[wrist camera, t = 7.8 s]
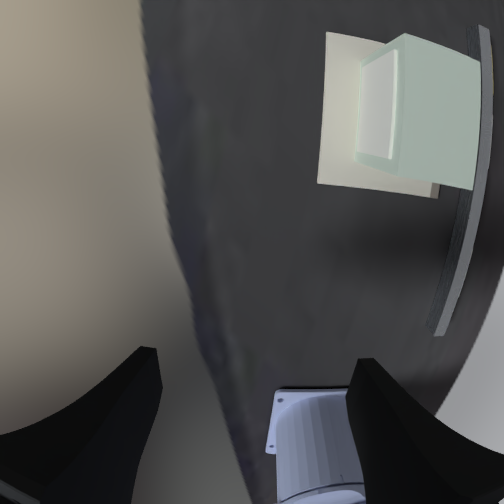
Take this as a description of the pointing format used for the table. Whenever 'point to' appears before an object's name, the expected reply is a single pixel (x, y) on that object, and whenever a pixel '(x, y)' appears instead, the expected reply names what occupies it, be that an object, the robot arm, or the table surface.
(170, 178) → the table surface
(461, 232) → the rail
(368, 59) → the sage carton
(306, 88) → the table surface
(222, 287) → the table surface
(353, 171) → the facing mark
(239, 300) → the table surface
